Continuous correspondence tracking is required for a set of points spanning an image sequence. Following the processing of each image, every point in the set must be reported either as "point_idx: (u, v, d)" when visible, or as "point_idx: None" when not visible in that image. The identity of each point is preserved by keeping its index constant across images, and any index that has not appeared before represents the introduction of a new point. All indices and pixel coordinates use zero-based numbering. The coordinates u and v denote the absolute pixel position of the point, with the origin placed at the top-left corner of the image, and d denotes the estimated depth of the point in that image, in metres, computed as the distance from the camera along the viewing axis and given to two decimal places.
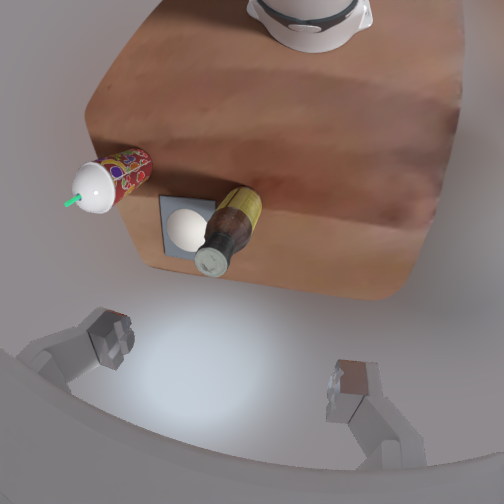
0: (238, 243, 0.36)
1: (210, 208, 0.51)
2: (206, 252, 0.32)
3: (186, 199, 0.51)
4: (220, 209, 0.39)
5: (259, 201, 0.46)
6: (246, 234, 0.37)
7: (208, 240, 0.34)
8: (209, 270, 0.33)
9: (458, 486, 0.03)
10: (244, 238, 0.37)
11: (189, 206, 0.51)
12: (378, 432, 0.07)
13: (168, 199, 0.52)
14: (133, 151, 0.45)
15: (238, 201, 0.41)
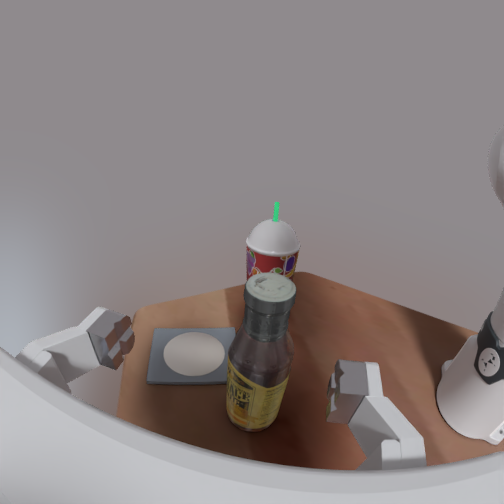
0: (271, 348, 0.23)
1: None
2: (286, 281, 0.23)
3: None
4: None
5: (268, 422, 0.28)
6: (277, 366, 0.23)
7: None
8: (258, 284, 0.22)
9: (458, 486, 0.03)
10: (274, 361, 0.23)
11: None
12: (378, 432, 0.07)
13: (232, 335, 0.44)
14: None
15: None
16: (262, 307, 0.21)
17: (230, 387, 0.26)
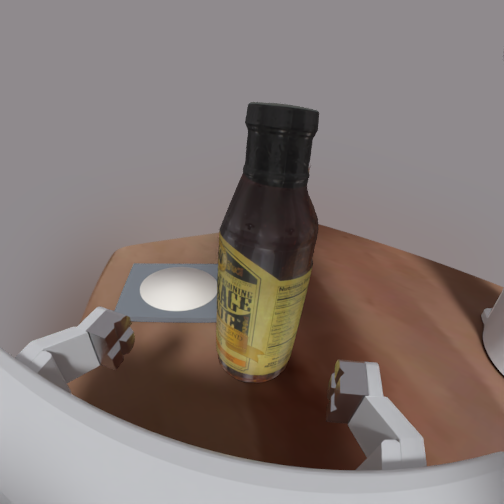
0: (286, 199, 0.15)
1: None
2: None
3: None
4: None
5: (278, 364, 0.20)
6: (296, 231, 0.15)
7: None
8: None
9: (458, 486, 0.03)
10: (291, 220, 0.15)
11: None
12: (378, 432, 0.07)
13: None
14: None
15: None
16: (273, 116, 0.13)
17: (221, 293, 0.19)
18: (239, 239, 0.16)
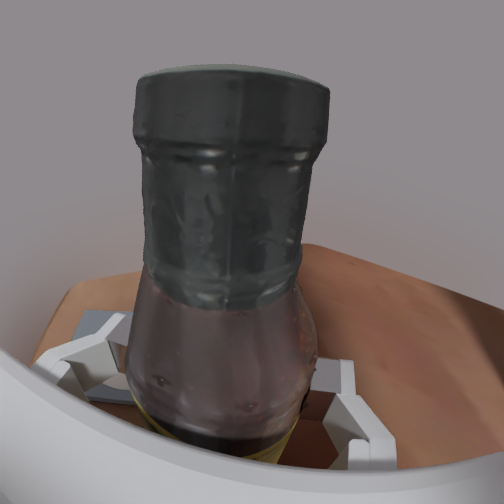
0: (237, 338, 0.06)
1: None
2: None
3: None
4: None
5: None
6: (262, 404, 0.06)
7: None
8: None
9: (458, 486, 0.03)
10: (249, 387, 0.06)
11: None
12: (349, 431, 0.07)
13: None
14: None
15: None
16: (179, 107, 0.04)
17: None
18: (147, 396, 0.07)
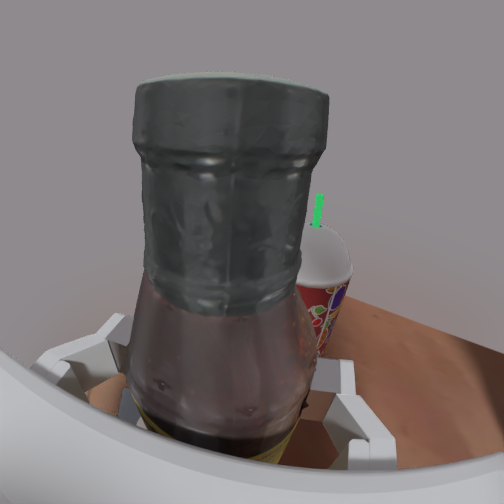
0: (236, 343, 0.06)
1: None
2: None
3: None
4: None
5: None
6: (261, 407, 0.06)
7: None
8: None
9: (458, 486, 0.03)
10: (249, 391, 0.06)
11: None
12: (349, 431, 0.07)
13: None
14: None
15: None
16: (178, 116, 0.04)
17: None
18: (148, 400, 0.07)
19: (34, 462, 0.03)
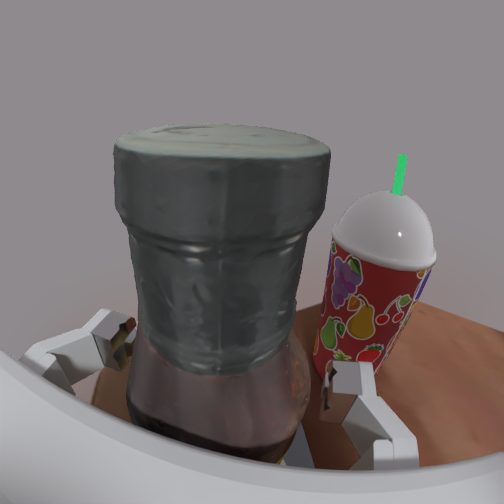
0: (230, 397, 0.06)
1: None
2: (288, 133, 0.06)
3: (312, 466, 0.16)
4: None
5: None
6: (254, 447, 0.06)
7: None
8: (169, 130, 0.05)
9: (458, 486, 0.03)
10: (242, 435, 0.06)
11: None
12: (371, 432, 0.07)
13: None
14: None
15: None
16: (157, 199, 0.04)
17: None
18: None
19: (34, 462, 0.03)
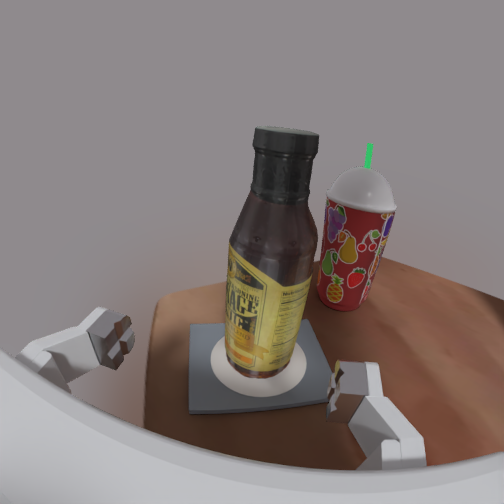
0: (289, 215, 0.17)
1: (325, 390, 0.23)
2: None
3: (322, 353, 0.27)
4: None
5: (281, 361, 0.23)
6: (297, 243, 0.17)
7: None
8: (271, 127, 0.17)
9: (458, 486, 0.03)
10: (293, 234, 0.17)
11: (311, 359, 0.26)
12: (378, 432, 0.07)
13: (308, 330, 0.30)
14: None
15: None
16: (278, 142, 0.15)
17: (230, 297, 0.21)
18: (247, 250, 0.18)
19: (34, 462, 0.03)
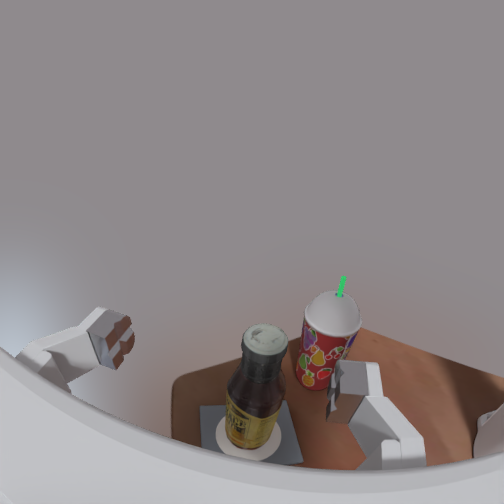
0: (265, 388, 0.25)
1: (292, 457, 0.30)
2: (279, 333, 0.25)
3: (293, 429, 0.35)
4: None
5: (262, 442, 0.30)
6: (270, 402, 0.25)
7: None
8: (254, 337, 0.24)
9: (458, 486, 0.03)
10: (267, 398, 0.25)
11: (285, 434, 0.34)
12: (378, 432, 0.07)
13: (285, 410, 0.38)
14: None
15: None
16: (257, 358, 0.23)
17: (229, 415, 0.29)
18: (239, 402, 0.26)
19: (34, 462, 0.03)
